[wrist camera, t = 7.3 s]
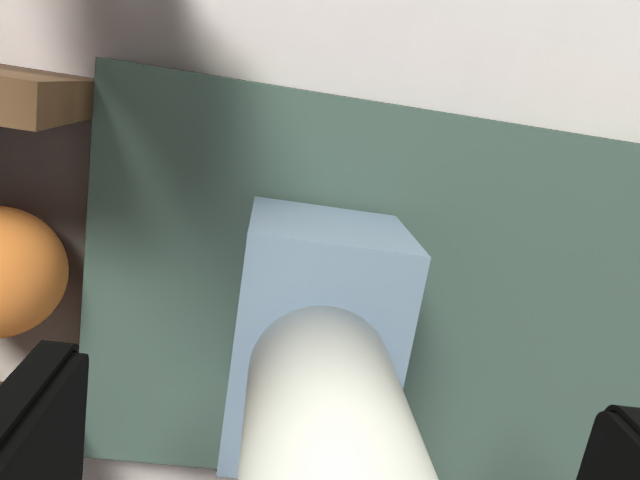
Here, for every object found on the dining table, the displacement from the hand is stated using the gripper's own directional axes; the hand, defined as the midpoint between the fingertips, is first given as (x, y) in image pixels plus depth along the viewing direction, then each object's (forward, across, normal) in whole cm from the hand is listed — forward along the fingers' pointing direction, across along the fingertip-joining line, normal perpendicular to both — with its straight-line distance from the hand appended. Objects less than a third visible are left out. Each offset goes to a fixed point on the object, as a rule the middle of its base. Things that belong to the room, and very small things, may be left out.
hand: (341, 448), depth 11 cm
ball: (+7, +9, 0) cm, 11 cm away
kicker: (+7, 0, 0) cm, 7 cm away
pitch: (+8, -3, 0) cm, 9 cm away
